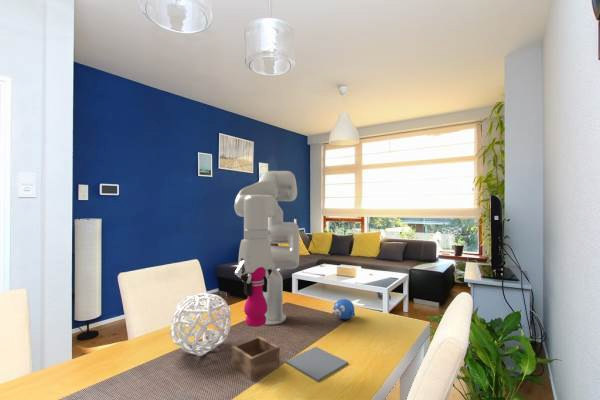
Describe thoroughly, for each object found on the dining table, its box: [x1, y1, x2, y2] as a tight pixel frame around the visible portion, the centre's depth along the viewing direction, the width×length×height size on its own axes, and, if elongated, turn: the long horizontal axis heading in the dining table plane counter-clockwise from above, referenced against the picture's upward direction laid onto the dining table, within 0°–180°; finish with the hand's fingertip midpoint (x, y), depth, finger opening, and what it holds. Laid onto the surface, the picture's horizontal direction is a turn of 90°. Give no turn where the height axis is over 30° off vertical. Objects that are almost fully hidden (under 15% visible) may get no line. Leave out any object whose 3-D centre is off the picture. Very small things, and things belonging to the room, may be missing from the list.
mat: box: [285, 346, 349, 382], centre depth 96 cm, size 14×14×1 cm
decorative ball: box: [169, 292, 232, 357], centre depth 104 cm, size 20×20×19 cm
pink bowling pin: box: [243, 267, 268, 328], centre depth 95 cm, size 7×7×20 cm
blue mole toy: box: [331, 298, 356, 320], centre depth 132 cm, size 12×12×8 cm
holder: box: [230, 336, 281, 381], centre depth 95 cm, size 11×11×6 cm
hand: (255, 292), depth 95 cm, fingers closed on pink bowling pin, 5 cm apart
